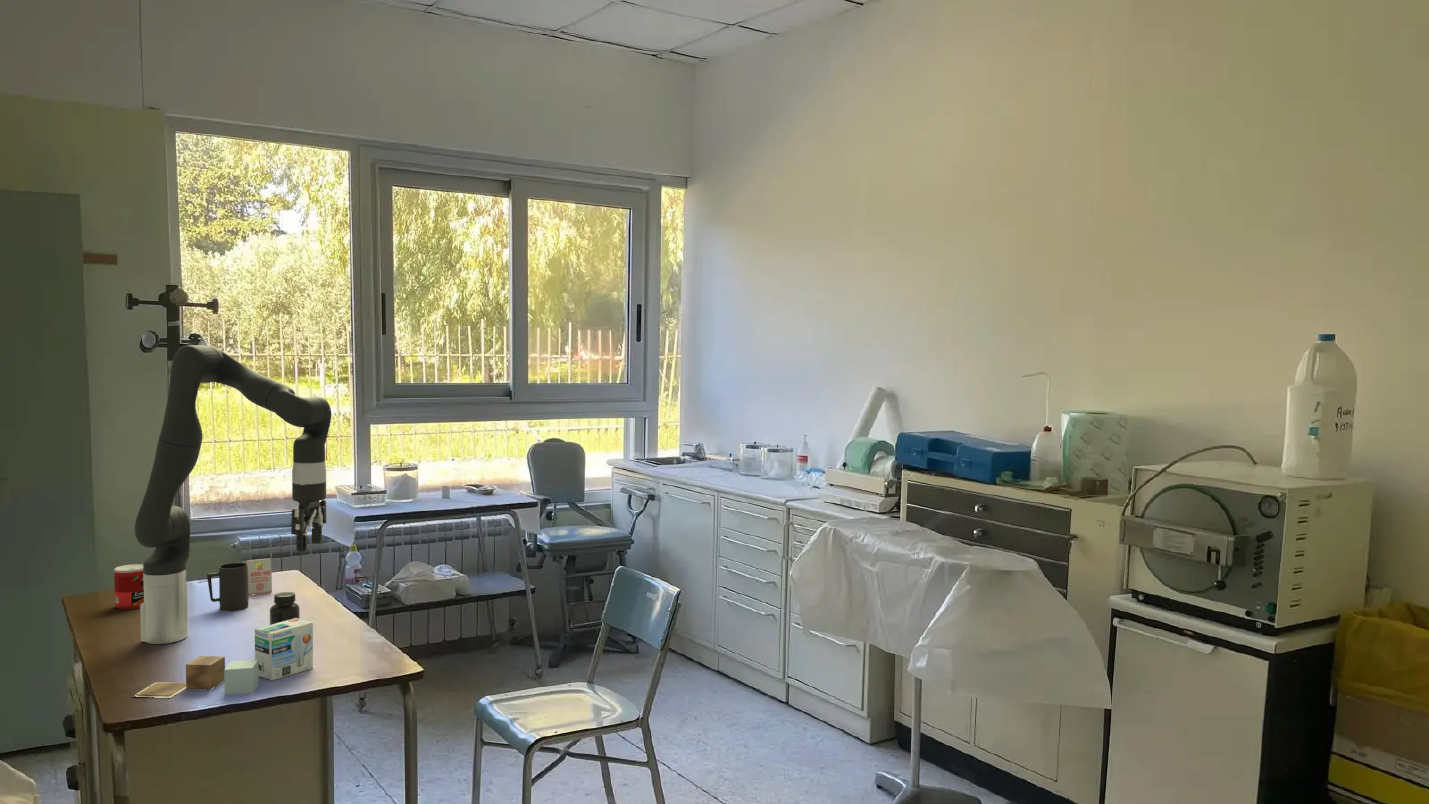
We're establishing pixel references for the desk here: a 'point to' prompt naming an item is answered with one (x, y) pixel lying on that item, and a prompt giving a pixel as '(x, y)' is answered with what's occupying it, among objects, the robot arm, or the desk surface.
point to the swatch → (162, 690)
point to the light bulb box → (284, 648)
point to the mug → (231, 586)
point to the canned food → (129, 586)
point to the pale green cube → (241, 676)
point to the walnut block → (205, 672)
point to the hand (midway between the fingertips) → (309, 547)
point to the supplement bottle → (284, 608)
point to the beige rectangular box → (259, 576)
